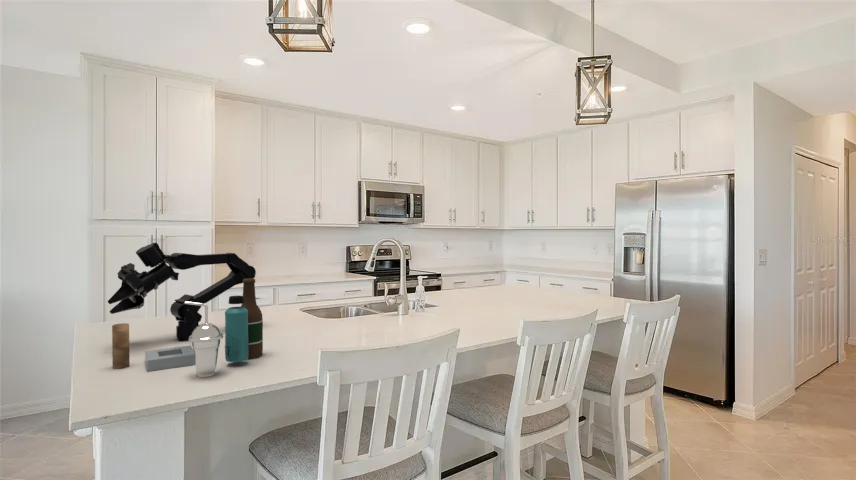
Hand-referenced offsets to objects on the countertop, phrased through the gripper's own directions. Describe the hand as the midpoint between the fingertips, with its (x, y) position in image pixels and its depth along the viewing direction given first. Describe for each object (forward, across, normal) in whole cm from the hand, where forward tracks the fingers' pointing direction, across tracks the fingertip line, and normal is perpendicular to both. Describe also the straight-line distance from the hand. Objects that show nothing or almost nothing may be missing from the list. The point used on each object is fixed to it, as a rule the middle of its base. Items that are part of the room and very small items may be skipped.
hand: (109, 308), depth 145 cm
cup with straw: (0, +27, +39) cm, 47 cm away
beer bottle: (-14, +16, +42) cm, 48 cm away
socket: (+2, +13, +28) cm, 31 cm away
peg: (+10, +10, +19) cm, 24 cm away
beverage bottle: (-8, +23, +42) cm, 49 cm away
